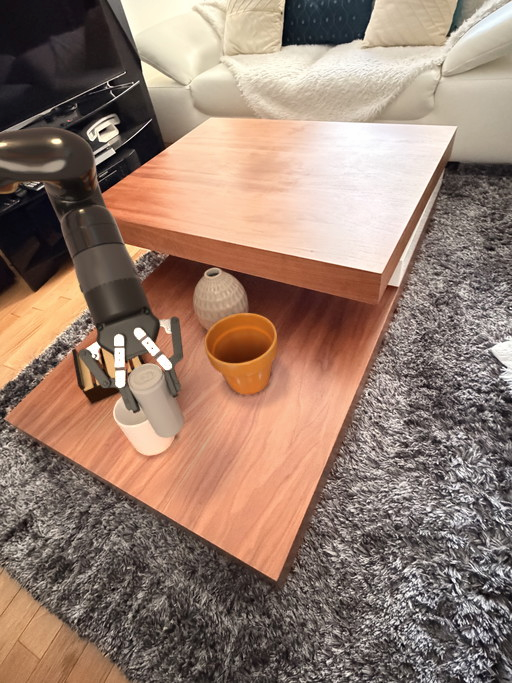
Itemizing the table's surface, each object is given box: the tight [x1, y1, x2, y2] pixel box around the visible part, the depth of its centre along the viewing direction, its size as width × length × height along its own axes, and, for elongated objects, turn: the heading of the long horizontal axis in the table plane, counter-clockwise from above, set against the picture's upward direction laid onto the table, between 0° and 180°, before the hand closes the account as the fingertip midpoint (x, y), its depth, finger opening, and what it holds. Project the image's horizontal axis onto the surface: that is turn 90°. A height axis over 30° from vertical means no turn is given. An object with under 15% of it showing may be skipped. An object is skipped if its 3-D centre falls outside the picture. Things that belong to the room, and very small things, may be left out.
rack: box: [71, 348, 147, 405], centre depth 88 cm, size 14×12×7 cm
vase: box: [192, 267, 249, 332], centre depth 91 cm, size 13×13×17 cm
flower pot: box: [203, 312, 279, 396], centre depth 79 cm, size 14×14×13 cm
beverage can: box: [128, 362, 186, 438], centre depth 55 cm, size 5×5×12 cm
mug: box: [112, 396, 176, 456], centre depth 74 cm, size 9×12×11 cm
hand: (156, 403), depth 52 cm, fingers closed on beverage can, 5 cm apart
